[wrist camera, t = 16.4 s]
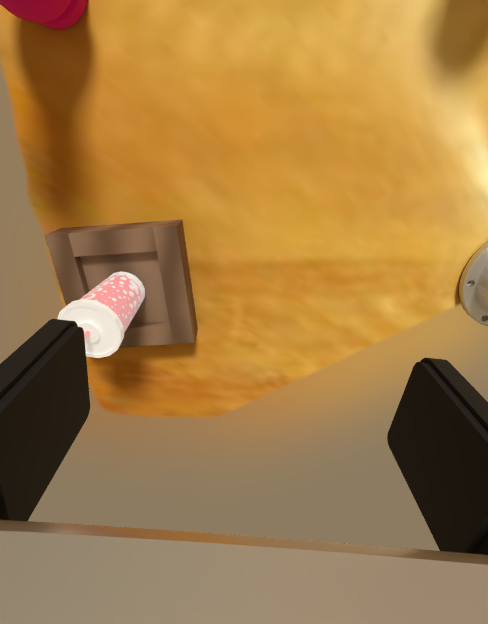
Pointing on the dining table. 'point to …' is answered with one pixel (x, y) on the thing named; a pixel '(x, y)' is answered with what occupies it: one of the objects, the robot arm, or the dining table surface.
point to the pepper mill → (47, 11)
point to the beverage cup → (106, 312)
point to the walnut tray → (139, 262)
